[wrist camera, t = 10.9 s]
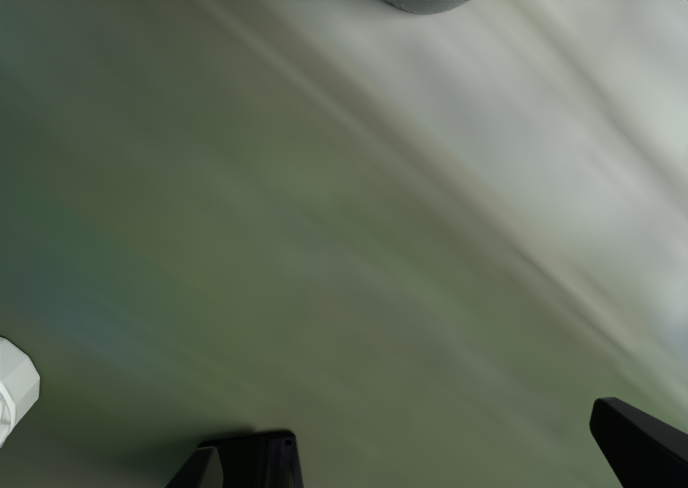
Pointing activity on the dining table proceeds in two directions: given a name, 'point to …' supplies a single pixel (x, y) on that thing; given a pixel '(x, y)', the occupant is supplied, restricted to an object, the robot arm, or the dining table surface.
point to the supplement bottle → (427, 5)
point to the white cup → (15, 386)
